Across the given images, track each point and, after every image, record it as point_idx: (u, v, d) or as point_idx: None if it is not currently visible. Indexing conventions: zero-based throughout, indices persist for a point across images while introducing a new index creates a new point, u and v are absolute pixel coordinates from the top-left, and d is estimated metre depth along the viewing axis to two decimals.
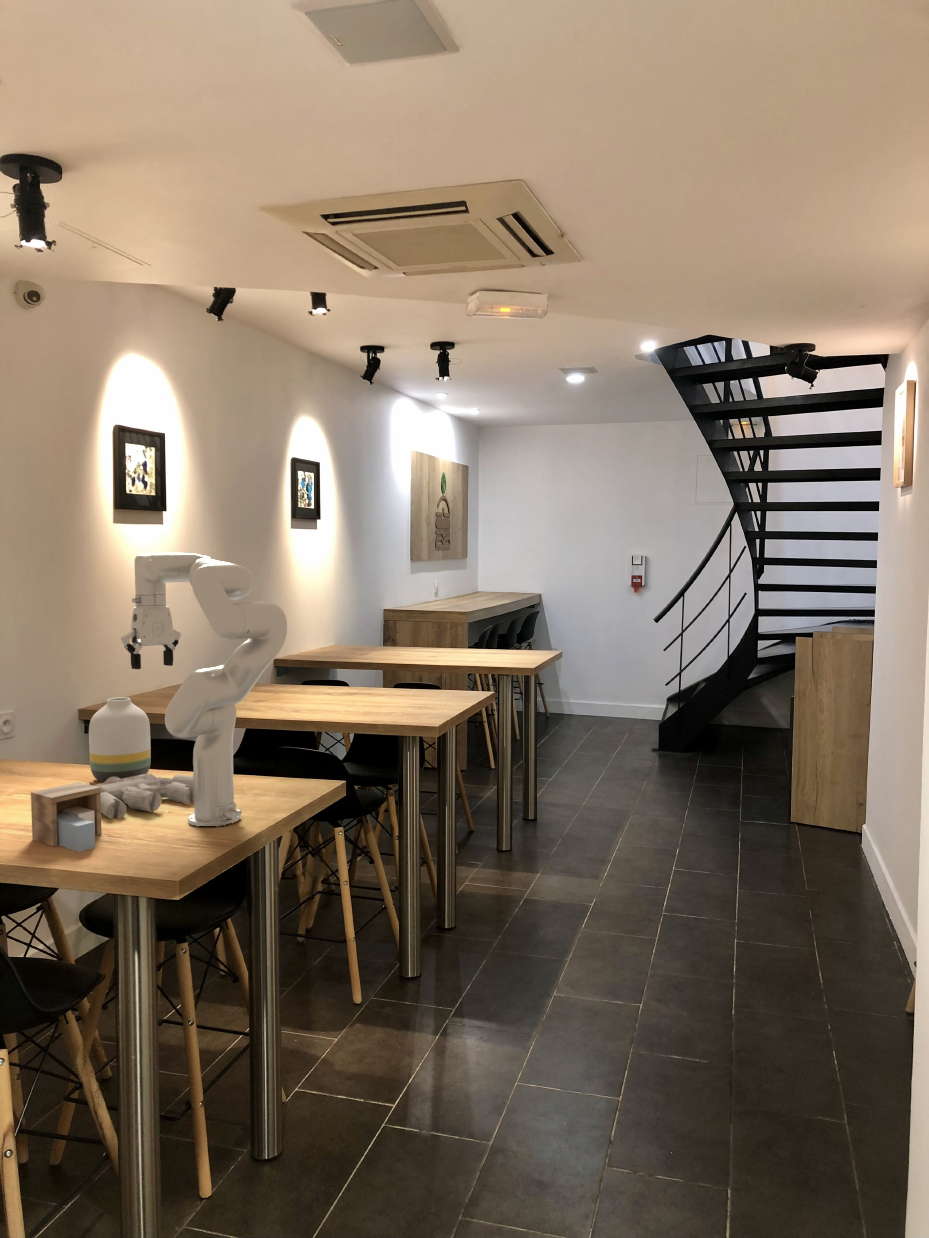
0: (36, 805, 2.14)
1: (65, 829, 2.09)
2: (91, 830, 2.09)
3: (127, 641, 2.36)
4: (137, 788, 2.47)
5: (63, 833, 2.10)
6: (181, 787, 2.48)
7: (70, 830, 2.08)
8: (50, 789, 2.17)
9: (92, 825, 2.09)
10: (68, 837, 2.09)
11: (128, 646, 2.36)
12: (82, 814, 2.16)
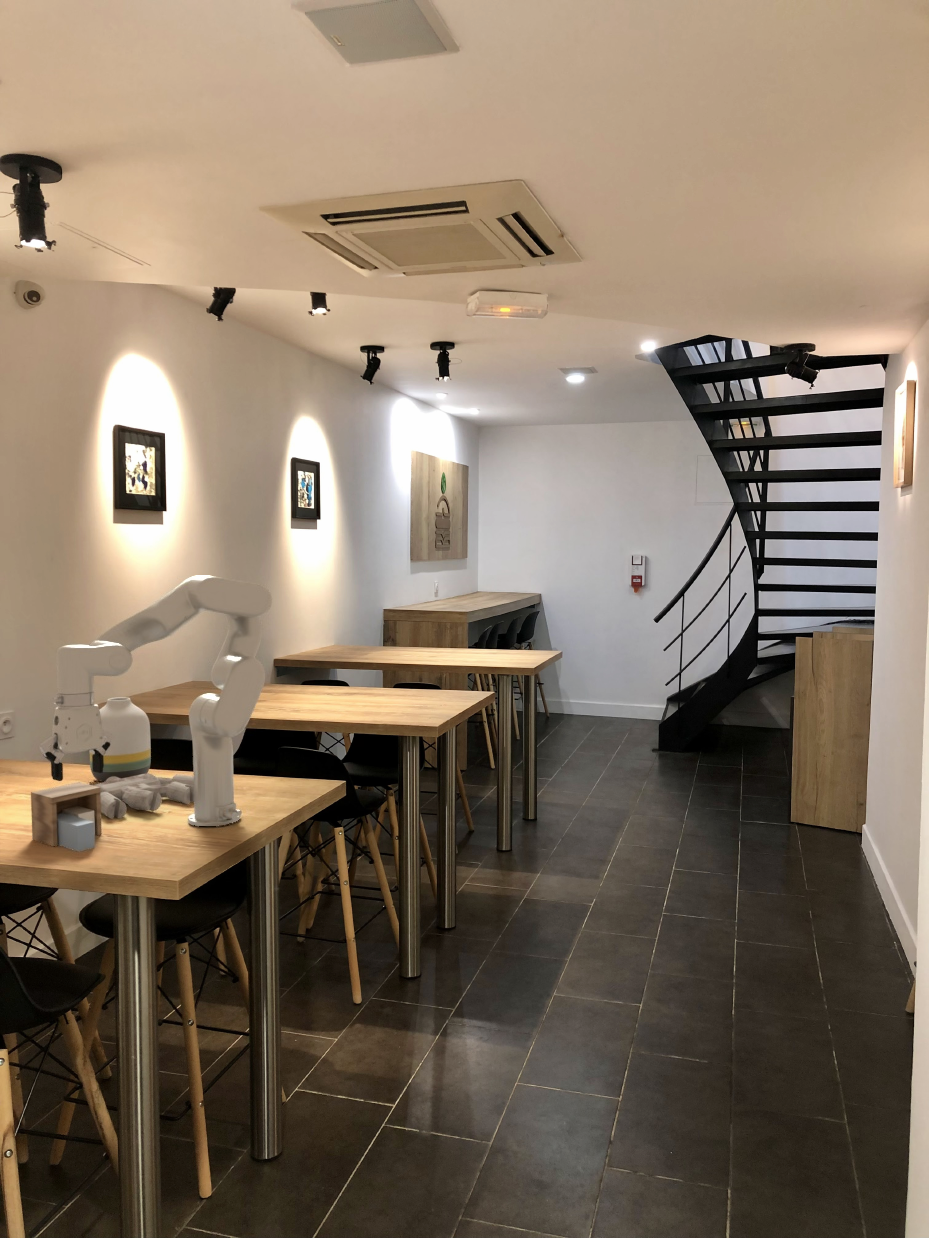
0: (36, 805, 2.14)
1: (65, 829, 2.09)
2: (91, 830, 2.09)
3: (46, 749, 2.02)
4: (137, 788, 2.47)
5: (63, 833, 2.10)
6: (181, 787, 2.48)
7: (70, 830, 2.08)
8: (50, 789, 2.17)
9: (92, 825, 2.09)
10: (68, 837, 2.09)
11: (47, 755, 2.02)
12: (82, 814, 2.16)
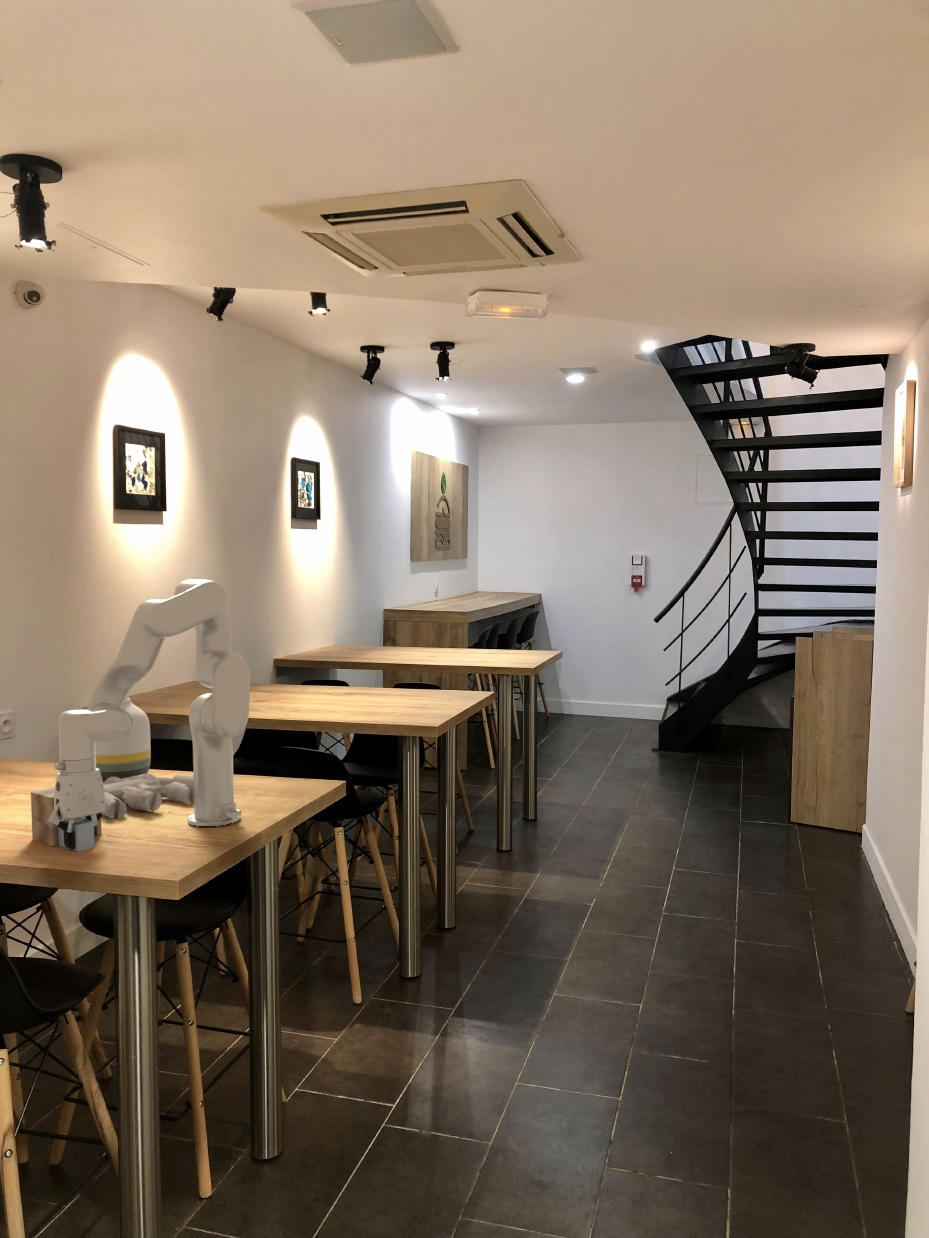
0: (36, 805, 2.14)
1: None
2: (90, 829, 2.09)
3: (57, 821, 2.04)
4: (137, 788, 2.47)
5: (62, 832, 2.10)
6: (181, 787, 2.48)
7: None
8: (50, 789, 2.17)
9: (92, 824, 2.09)
10: None
11: (60, 824, 2.05)
12: None
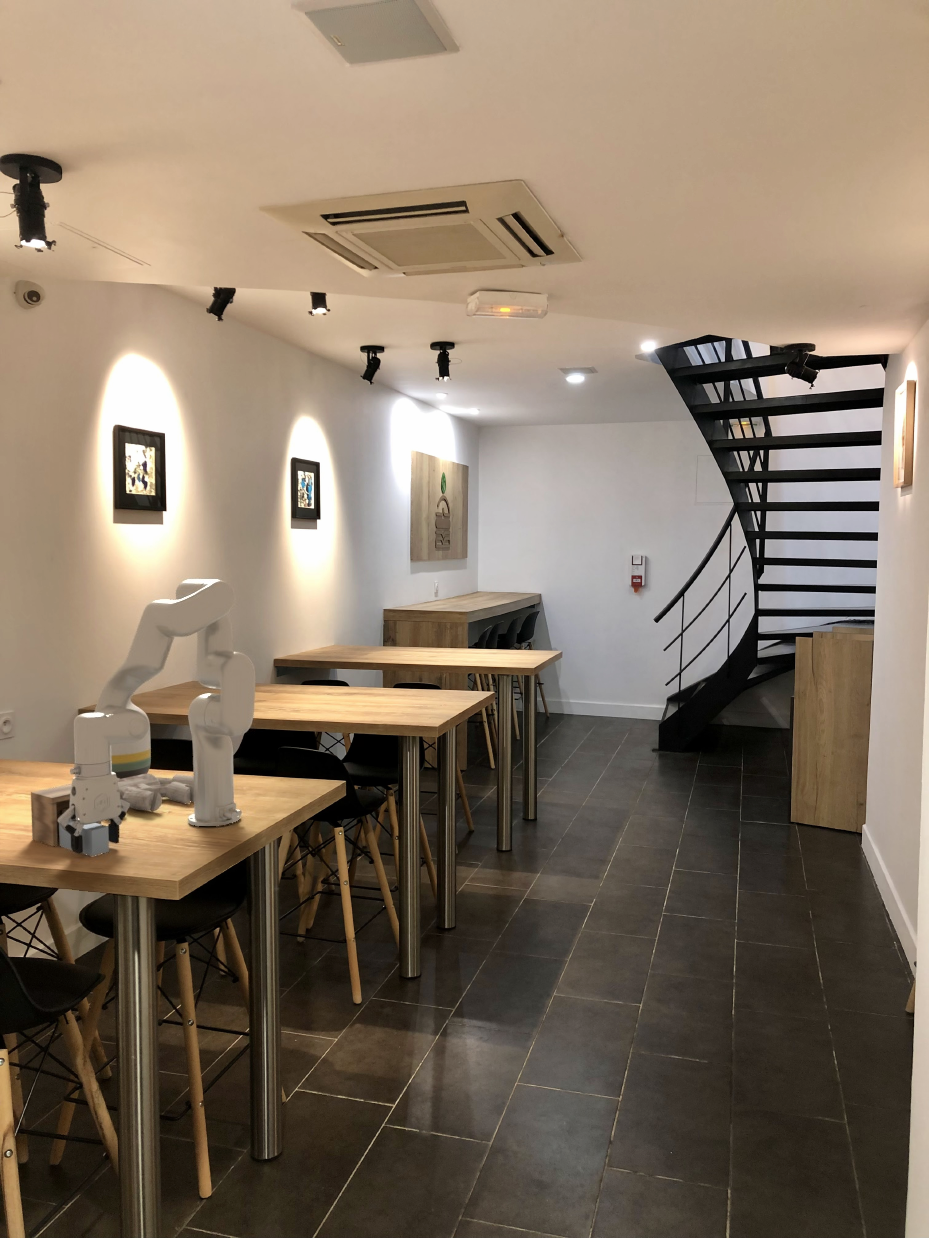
0: (36, 805, 2.14)
1: None
2: (105, 835, 2.05)
3: (65, 822, 1.99)
4: (137, 788, 2.47)
5: None
6: (181, 787, 2.48)
7: (84, 835, 2.04)
8: (50, 789, 2.17)
9: (106, 830, 2.05)
10: None
11: (67, 828, 2.00)
12: None
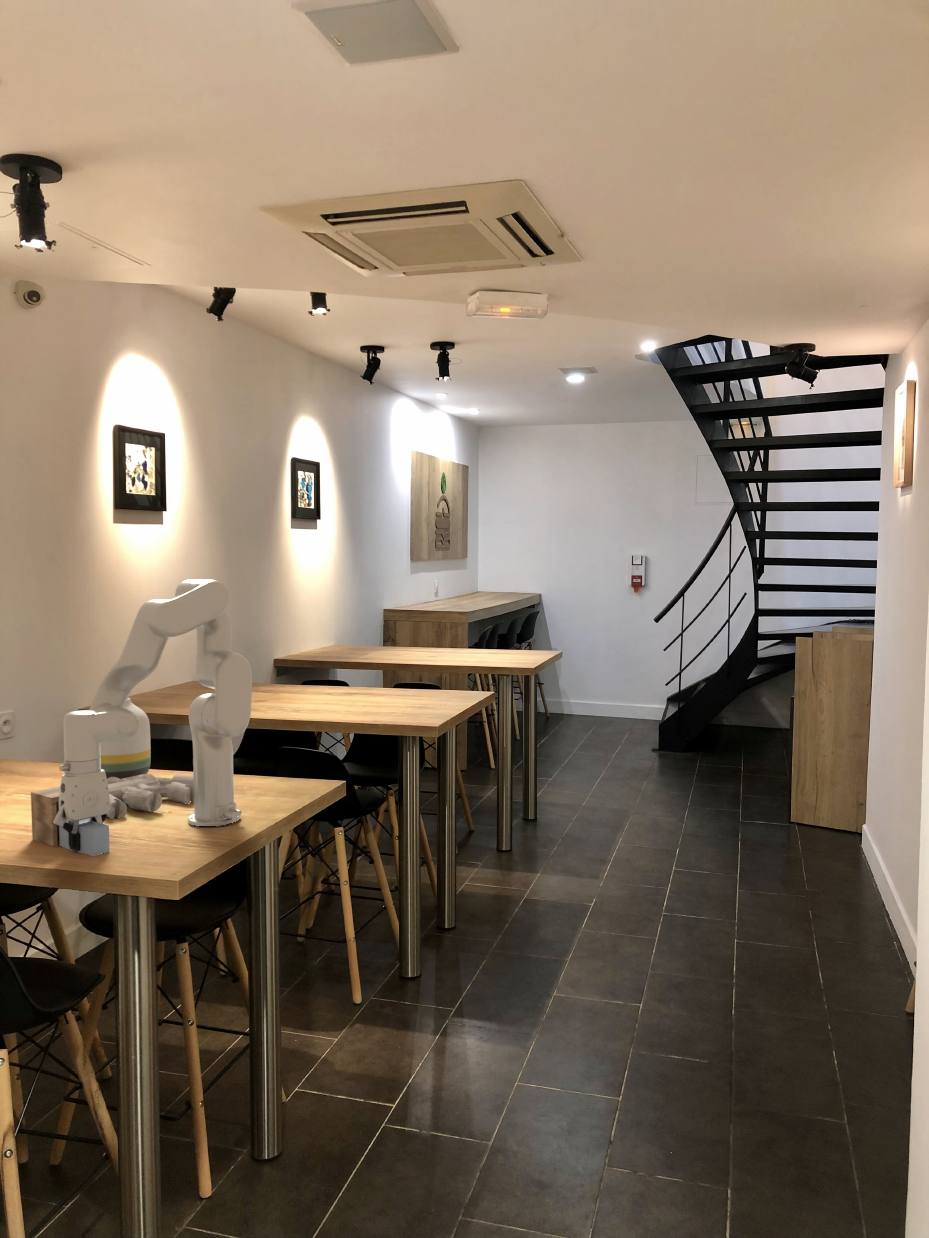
0: (36, 805, 2.14)
1: None
2: (106, 834, 2.05)
3: (61, 822, 2.03)
4: (137, 788, 2.47)
5: None
6: (181, 787, 2.48)
7: (84, 834, 2.05)
8: (50, 789, 2.17)
9: (107, 828, 2.06)
10: (82, 841, 2.05)
11: (65, 826, 2.03)
12: None
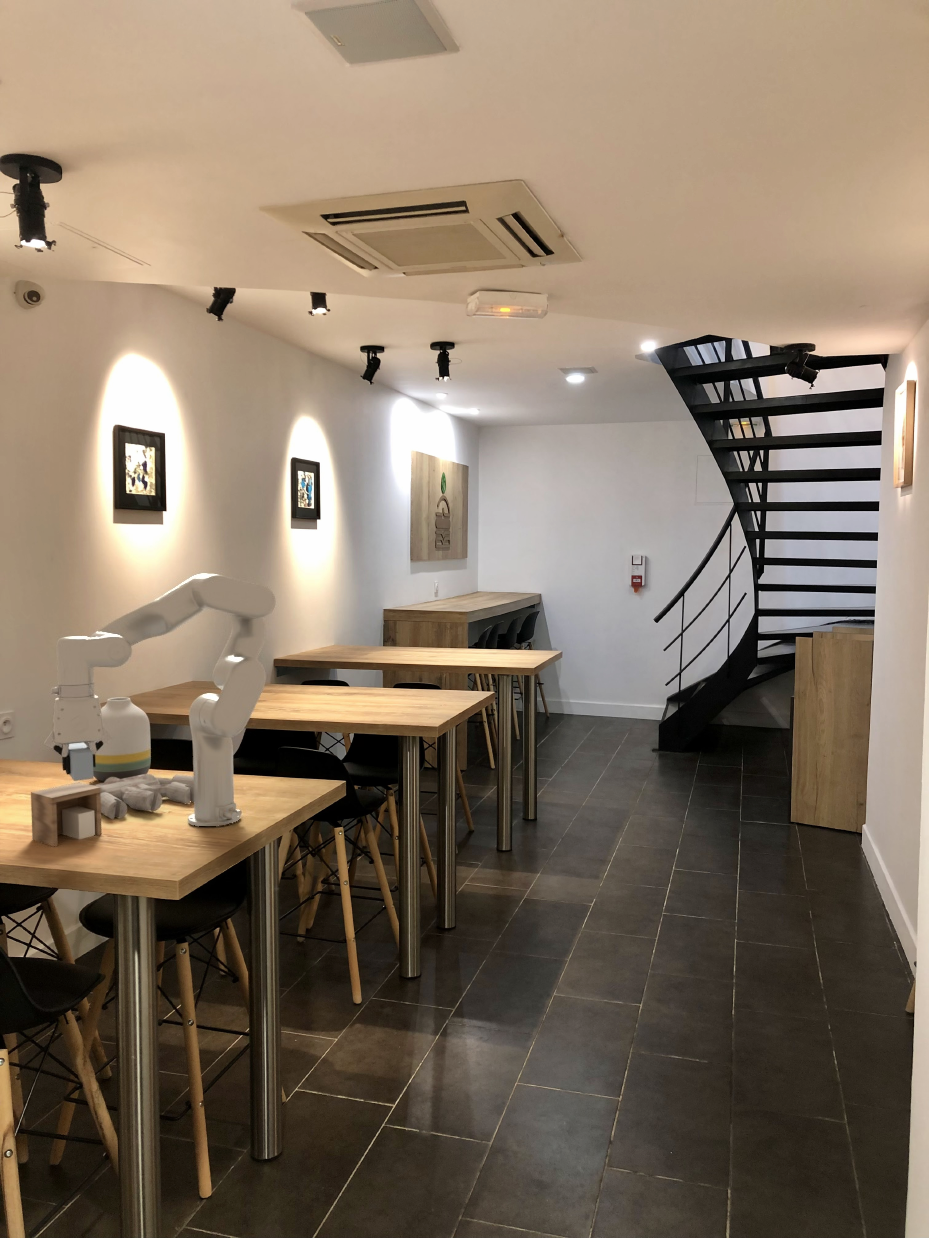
0: (36, 805, 2.14)
1: None
2: (89, 760, 2.05)
3: (51, 744, 2.06)
4: (137, 788, 2.47)
5: None
6: (181, 787, 2.48)
7: (71, 758, 2.06)
8: (50, 789, 2.17)
9: (90, 755, 2.05)
10: (70, 765, 2.07)
11: (54, 748, 2.06)
12: (82, 814, 2.16)
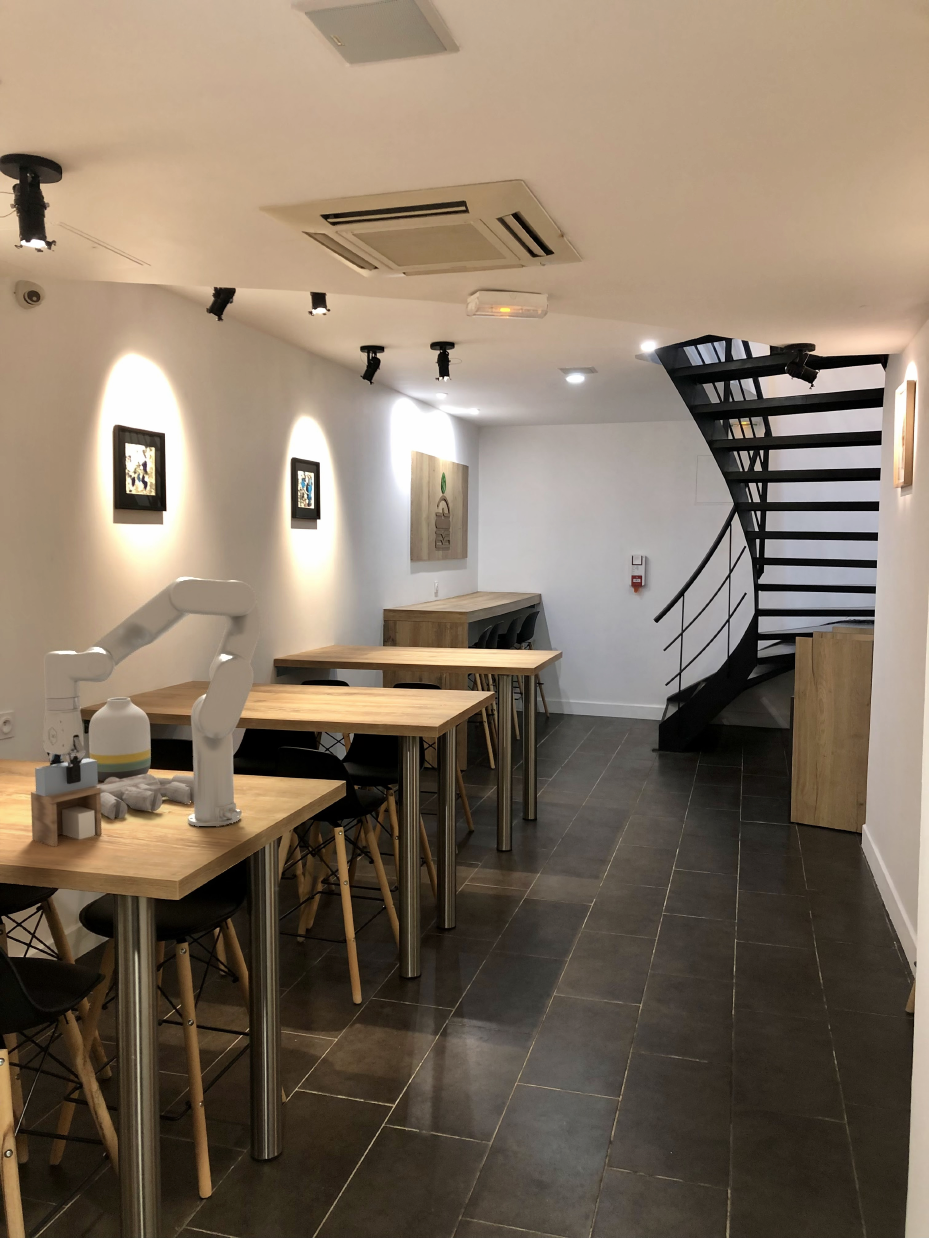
0: (36, 805, 2.14)
1: None
2: (42, 777, 2.11)
3: None
4: (137, 788, 2.47)
5: None
6: (181, 787, 2.48)
7: None
8: None
9: (43, 773, 2.11)
10: None
11: None
12: (82, 814, 2.16)
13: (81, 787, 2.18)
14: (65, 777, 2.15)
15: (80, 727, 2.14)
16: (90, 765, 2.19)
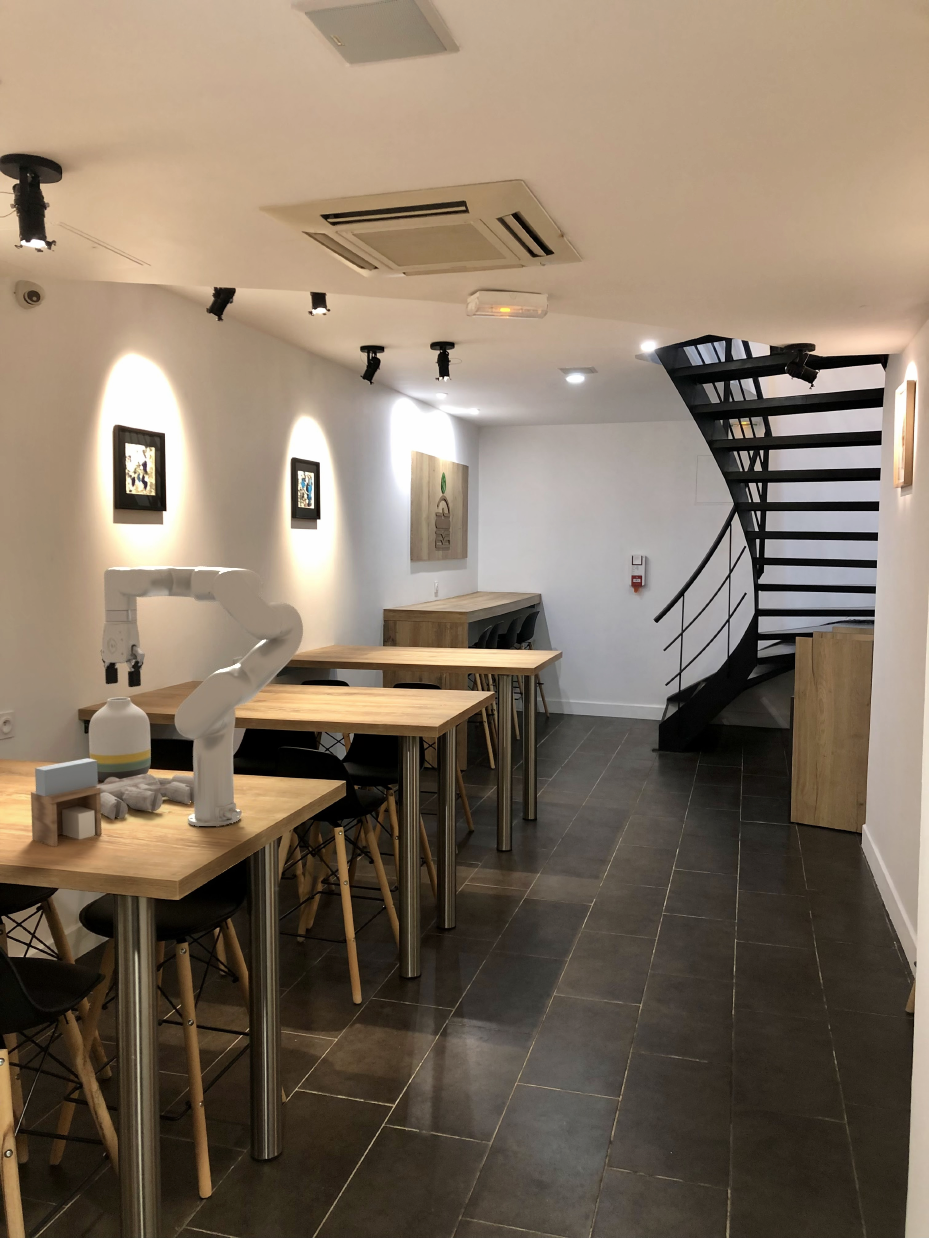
0: (36, 805, 2.14)
1: None
2: (42, 777, 2.11)
3: None
4: (137, 788, 2.47)
5: None
6: (181, 787, 2.48)
7: None
8: None
9: (43, 773, 2.11)
10: None
11: None
12: (82, 814, 2.16)
13: (81, 787, 2.18)
14: (65, 777, 2.15)
15: (137, 638, 2.31)
16: (90, 765, 2.19)
